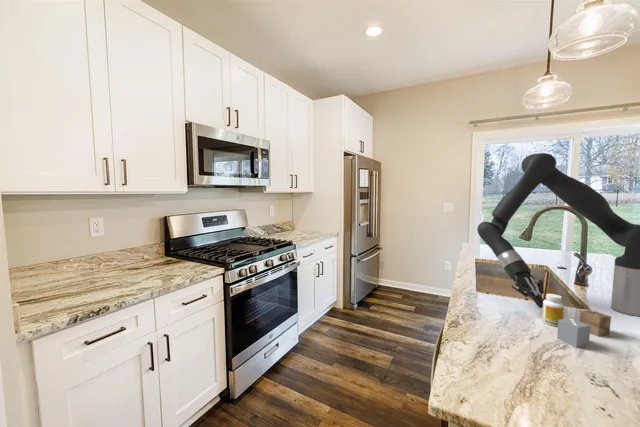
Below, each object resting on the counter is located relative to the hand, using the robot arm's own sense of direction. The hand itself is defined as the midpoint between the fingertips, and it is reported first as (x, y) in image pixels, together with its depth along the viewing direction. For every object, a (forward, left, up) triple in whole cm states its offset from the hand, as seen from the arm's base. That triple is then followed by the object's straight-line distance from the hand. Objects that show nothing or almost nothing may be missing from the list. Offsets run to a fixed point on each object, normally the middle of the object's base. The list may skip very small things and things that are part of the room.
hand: (543, 307), depth 95 cm
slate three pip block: (+7, +14, -4) cm, 16 cm away
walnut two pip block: (-7, +11, -4) cm, 13 cm away
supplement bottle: (0, +3, -5) cm, 6 cm away
